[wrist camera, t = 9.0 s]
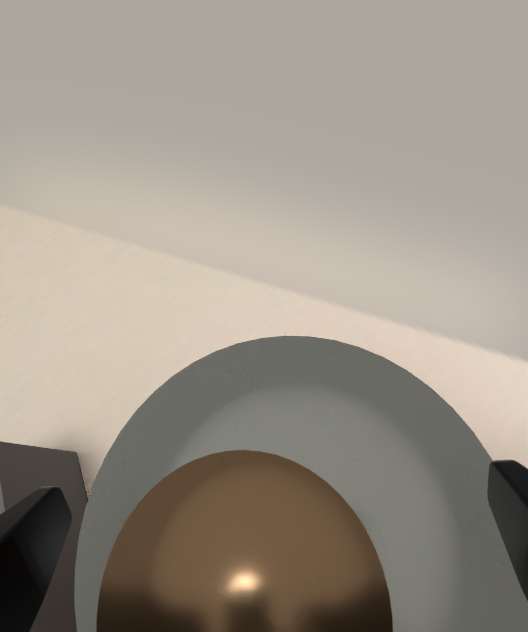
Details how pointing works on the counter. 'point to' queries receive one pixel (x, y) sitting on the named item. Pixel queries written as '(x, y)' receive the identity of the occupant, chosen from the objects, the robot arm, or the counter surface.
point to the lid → (294, 504)
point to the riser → (64, 471)
